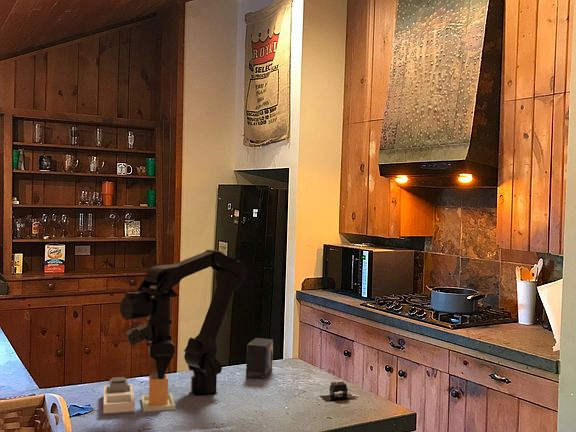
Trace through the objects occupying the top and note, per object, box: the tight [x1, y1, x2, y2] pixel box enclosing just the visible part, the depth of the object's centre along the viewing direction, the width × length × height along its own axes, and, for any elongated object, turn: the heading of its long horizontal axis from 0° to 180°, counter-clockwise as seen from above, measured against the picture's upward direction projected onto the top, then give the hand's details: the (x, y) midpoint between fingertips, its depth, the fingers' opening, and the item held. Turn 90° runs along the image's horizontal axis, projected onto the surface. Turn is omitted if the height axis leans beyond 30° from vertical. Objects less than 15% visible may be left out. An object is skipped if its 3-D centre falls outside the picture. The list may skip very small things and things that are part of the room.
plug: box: [148, 371, 169, 406], centre depth 160 cm, size 4×4×8 cm
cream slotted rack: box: [102, 376, 136, 417], centre depth 159 cm, size 8×16×6 cm, turn 17°
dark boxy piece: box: [318, 381, 357, 403], centre depth 171 cm, size 12×7×5 cm, turn 107°
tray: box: [140, 393, 177, 413], centre depth 160 cm, size 8×10×2 cm
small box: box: [245, 337, 274, 380], centre depth 193 cm, size 11×6×10 cm, turn 168°
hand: (158, 374), depth 160 cm, fingers open, 9 cm apart
